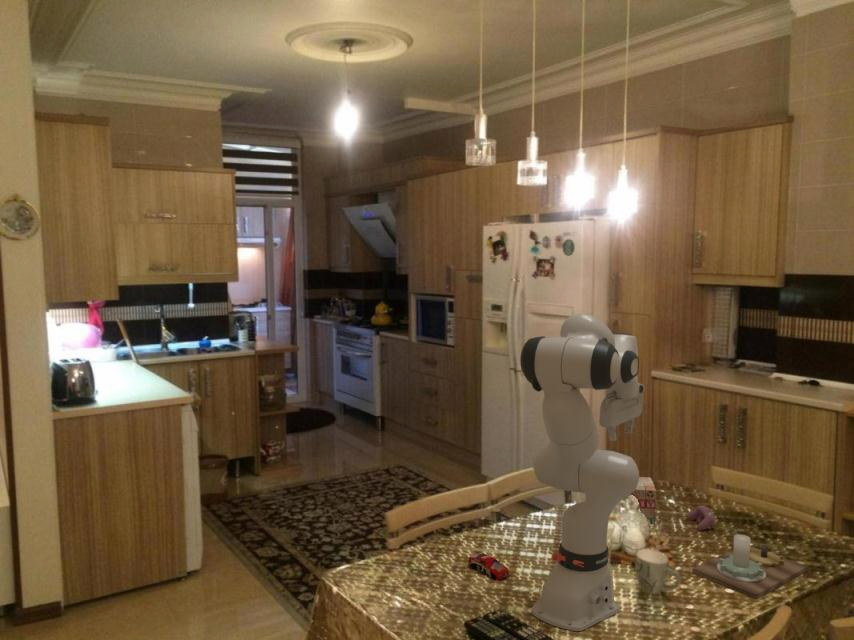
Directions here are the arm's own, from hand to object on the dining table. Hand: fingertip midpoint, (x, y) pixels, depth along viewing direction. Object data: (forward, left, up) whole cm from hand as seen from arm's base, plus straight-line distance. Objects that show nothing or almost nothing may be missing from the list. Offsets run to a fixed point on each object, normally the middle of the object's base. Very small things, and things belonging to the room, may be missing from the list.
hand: (620, 436), depth 200 cm
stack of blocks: (+32, +7, -34) cm, 48 cm away
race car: (-34, +22, -35) cm, 53 cm away
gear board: (+11, -33, -34) cm, 49 cm away
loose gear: (+7, -32, -32) cm, 46 cm away
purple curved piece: (+35, -11, -34) cm, 50 cm away
